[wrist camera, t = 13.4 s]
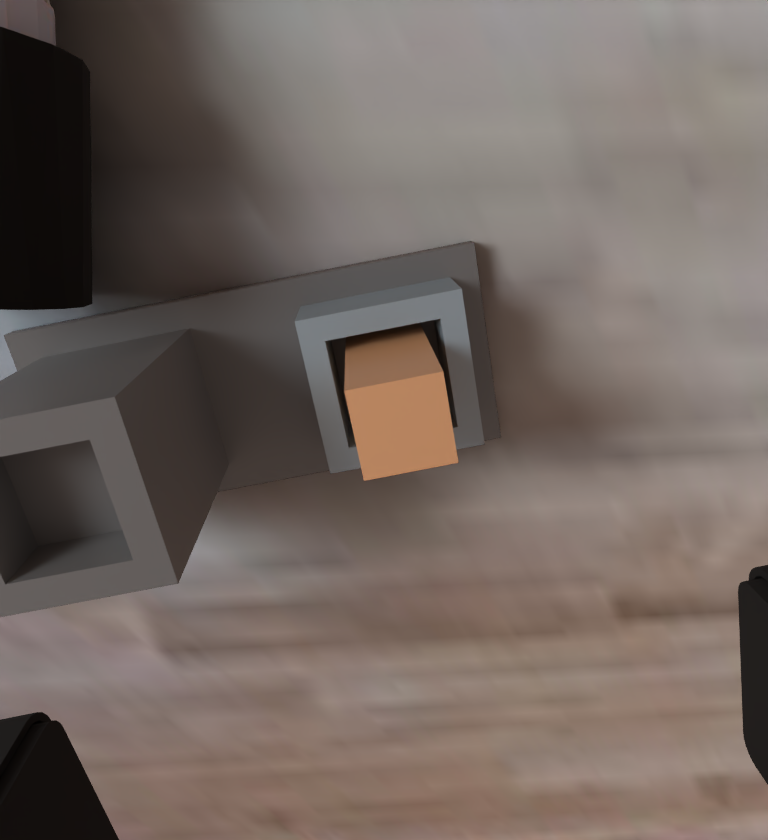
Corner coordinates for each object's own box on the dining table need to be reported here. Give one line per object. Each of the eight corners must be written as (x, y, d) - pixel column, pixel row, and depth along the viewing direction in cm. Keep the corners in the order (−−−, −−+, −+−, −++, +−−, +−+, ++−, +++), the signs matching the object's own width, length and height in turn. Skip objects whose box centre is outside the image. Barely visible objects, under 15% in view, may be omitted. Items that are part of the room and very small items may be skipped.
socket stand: (470, 241, 36) (533, 272, 24) (497, 431, 40) (563, 543, 27) (12, 331, 36) (-159, 408, 24) (81, 511, 40) (-38, 656, 28)
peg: (419, 321, 36) (443, 371, 27) (431, 391, 38) (458, 462, 28) (345, 336, 36) (344, 390, 27) (360, 405, 38) (364, 480, 28)
